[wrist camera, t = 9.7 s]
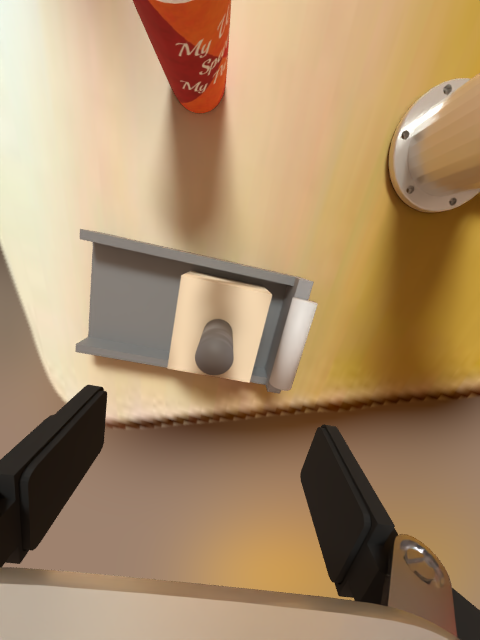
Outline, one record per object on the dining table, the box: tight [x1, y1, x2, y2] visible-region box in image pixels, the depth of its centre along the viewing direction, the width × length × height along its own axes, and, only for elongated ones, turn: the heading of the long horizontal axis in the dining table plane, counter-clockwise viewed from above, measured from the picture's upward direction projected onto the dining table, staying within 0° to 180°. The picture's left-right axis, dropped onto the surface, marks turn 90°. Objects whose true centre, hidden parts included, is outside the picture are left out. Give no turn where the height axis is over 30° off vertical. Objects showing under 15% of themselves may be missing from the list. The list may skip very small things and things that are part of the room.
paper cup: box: [133, 0, 231, 113], centre depth 17 cm, size 8×8×14 cm
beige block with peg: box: [167, 271, 272, 383], centre depth 24 cm, size 9×10×12 cm
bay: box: [76, 229, 317, 393], centre depth 27 cm, size 26×14×8 cm, turn 78°
